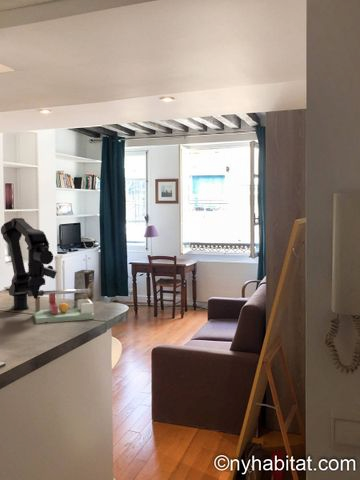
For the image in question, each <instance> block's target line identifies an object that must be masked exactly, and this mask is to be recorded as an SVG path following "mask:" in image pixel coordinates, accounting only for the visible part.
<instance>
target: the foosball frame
mask: <svg viewBox="0 0 360 480" xmlns="http://www.w3.org/2000/svg"><path fill="white" fill-rule="evenodd" d="M40 299H41V296H38V297H37V299H34V300H35V304H34V305H35V309H34V310H33V317H34V320H35V324H45V322H48V323H58V322H60V323H61V322H71V321H73V322H74V321H83V320H84V321H85V320H95V313H94V303H92V302H91V300H90V299H87V294H83V299H81V300H78V307H69V308H68V311H66V312H61V311H60V310H59V308H58V314H51V311H50V309H41V307H40V306H41V303H40V302H41V300H40Z"/></svg>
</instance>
